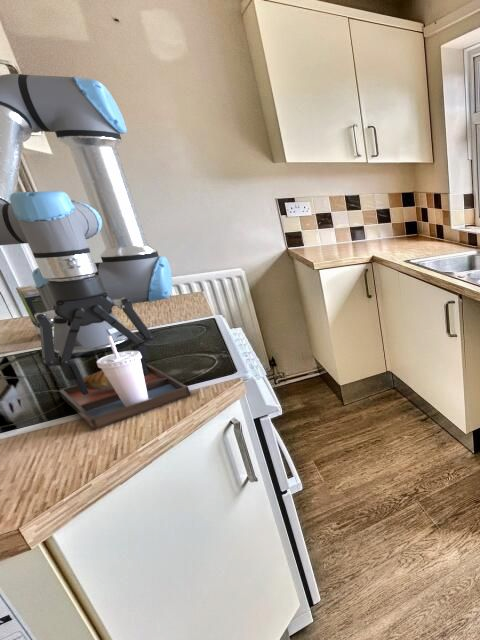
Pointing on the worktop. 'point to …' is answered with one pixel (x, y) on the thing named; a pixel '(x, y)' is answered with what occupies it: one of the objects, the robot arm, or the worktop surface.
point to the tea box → (32, 303)
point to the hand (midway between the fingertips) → (116, 382)
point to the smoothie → (125, 374)
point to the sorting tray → (109, 408)
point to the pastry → (97, 381)
